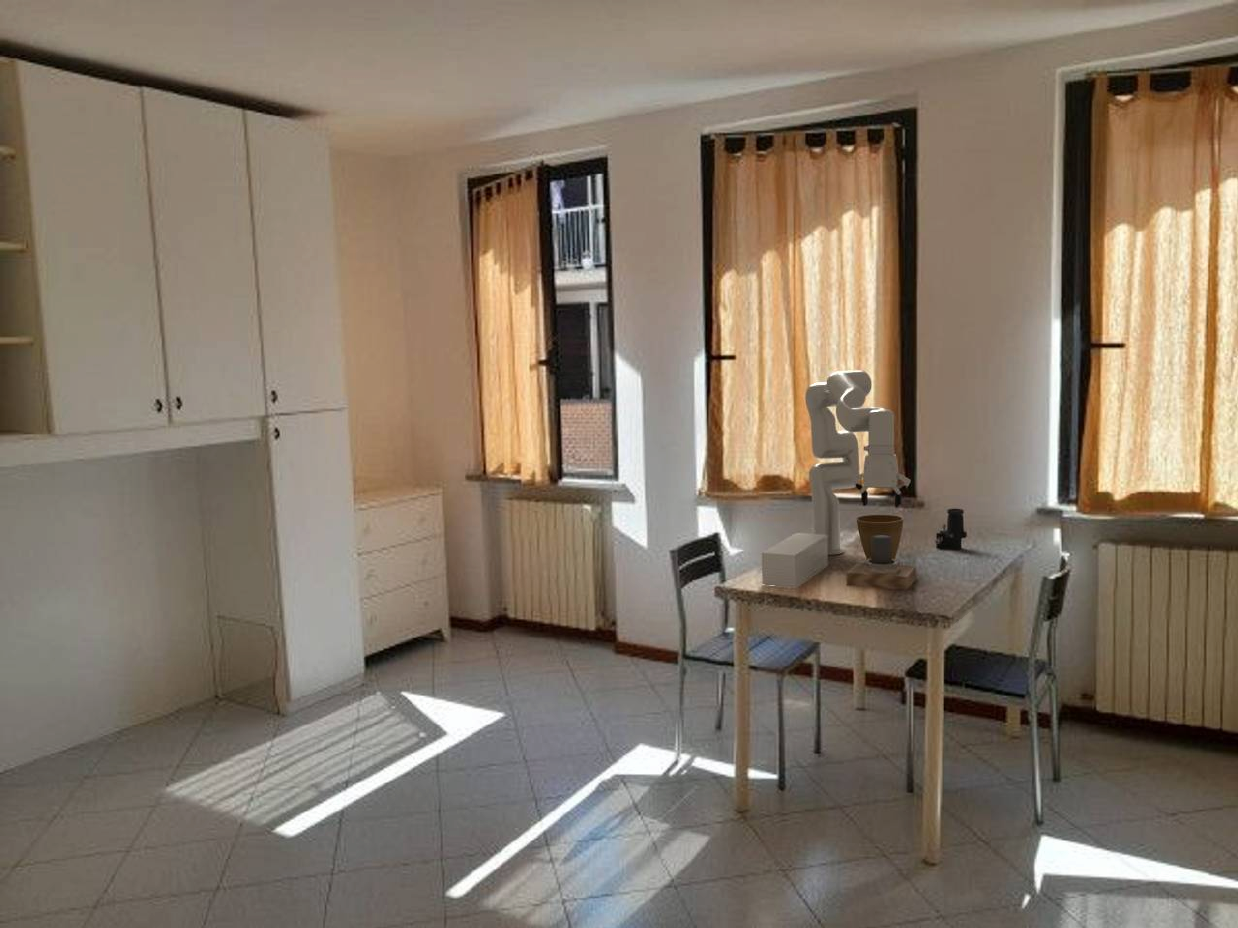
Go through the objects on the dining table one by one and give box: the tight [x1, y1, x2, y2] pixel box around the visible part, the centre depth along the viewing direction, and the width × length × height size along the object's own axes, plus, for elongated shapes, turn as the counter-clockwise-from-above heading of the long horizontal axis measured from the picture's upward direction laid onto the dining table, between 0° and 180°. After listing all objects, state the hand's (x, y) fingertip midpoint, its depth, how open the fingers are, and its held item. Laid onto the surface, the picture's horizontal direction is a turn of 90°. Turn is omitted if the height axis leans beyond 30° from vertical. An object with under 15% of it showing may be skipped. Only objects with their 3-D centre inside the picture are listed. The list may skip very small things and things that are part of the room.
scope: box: [934, 508, 968, 551], centre depth 339 cm, size 8×14×10 cm
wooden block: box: [846, 558, 917, 591], centre depth 298 cm, size 18×14×6 cm
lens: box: [871, 535, 892, 565], centre depth 298 cm, size 6×6×10 cm
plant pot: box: [856, 514, 904, 560], centre depth 319 cm, size 15×15×16 cm
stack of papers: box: [761, 532, 829, 589], centre depth 310 cm, size 32×11×11 cm, turn 150°
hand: (881, 505), depth 296 cm, fingers open, 9 cm apart
